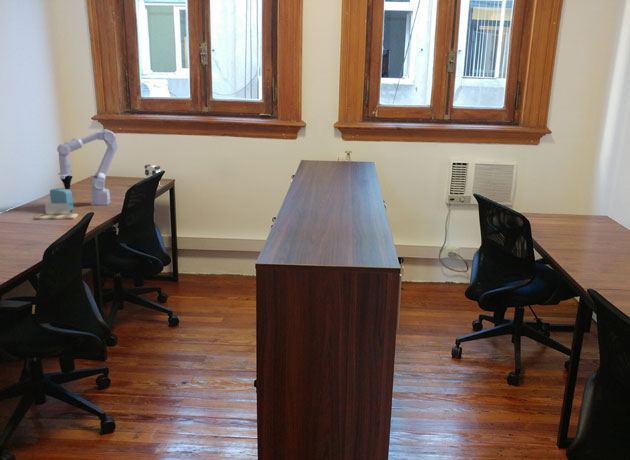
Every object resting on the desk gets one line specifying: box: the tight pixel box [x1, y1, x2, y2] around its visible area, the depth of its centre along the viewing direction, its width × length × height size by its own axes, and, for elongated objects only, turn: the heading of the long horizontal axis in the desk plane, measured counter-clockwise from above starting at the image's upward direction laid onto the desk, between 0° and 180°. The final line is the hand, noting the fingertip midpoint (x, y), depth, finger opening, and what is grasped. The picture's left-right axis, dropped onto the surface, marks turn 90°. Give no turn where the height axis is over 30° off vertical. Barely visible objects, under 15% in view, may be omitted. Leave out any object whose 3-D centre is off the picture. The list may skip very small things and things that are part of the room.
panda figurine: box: [144, 164, 161, 186], centre depth 375 cm, size 12×11×15 cm
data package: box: [49, 187, 74, 212], centre depth 312 cm, size 12×4×12 cm, turn 66°
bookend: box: [33, 202, 79, 221], centre depth 298 cm, size 20×8×7 cm, turn 97°
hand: (67, 189), depth 319 cm, fingers closed
